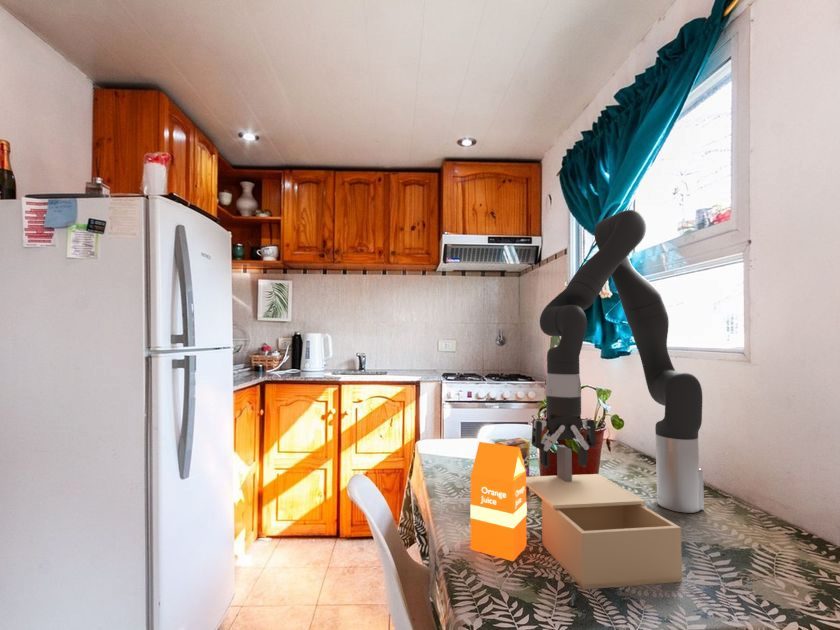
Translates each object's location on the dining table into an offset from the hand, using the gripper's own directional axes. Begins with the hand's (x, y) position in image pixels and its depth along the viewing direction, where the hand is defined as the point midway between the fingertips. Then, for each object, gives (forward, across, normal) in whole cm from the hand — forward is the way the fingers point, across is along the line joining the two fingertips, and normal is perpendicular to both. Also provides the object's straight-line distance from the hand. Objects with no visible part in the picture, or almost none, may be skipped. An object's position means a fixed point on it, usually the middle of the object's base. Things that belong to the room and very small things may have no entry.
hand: (564, 466), depth 98 cm
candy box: (+13, +7, -14) cm, 21 cm away
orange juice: (+13, +18, +8) cm, 24 cm away
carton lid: (+3, 0, +6) cm, 7 cm away
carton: (+13, 0, +16) cm, 21 cm away
